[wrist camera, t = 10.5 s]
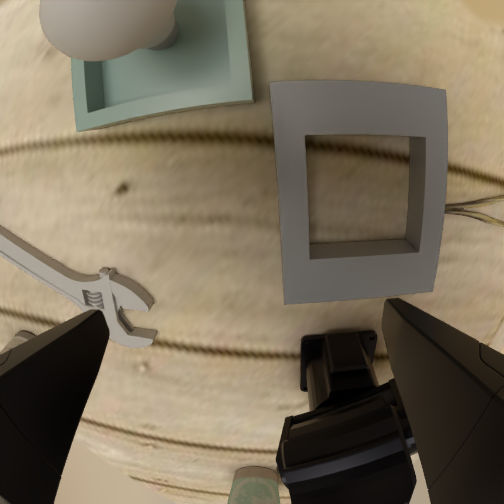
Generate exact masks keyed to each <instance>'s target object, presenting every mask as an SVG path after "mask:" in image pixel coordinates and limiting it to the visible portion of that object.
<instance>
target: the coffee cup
mask: <svg viewBox="0 0 504 504" xmlns="http://www.w3.org/2000/svg"><path fill="white" fill-rule="evenodd" d="M227 504H280V498H279V490H278V483H277V475H276V473H275V472H274V471H273V470H271V469H268V468H264V467H244V468H241V469H239V470H237V471H236V472H235V476H234V480H233V483H232V487H231V491H230V495H229V499H228V503H227Z"/></svg>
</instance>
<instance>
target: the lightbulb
mask: <svg viewBox="0 0 504 504" xmlns="http://www.w3.org/2000/svg"><path fill="white" fill-rule="evenodd" d="M176 3H177V0H40V9H39V17H40V23H41V27H42V30H43V32H44V34H45V37H46V38H47V39H48V40H49V42H50V43H51V44H52V45H53V46H54V47H55V48H56V49H57V50H59V51H60V52H62V53H64V54H65V55H67V56H69V57H71V58H75V59H78V60H83V61H103V60H110V59H116V58H119V57H122V56H125V55H127V54H129V53H131V52H133V51H135V50H137V49H139V48H140V49H145V48H147V49H150V50H156V51H157V50H163V49H166V48H168V47H169V46H171V45H172V44H173V43H174V42H175V41H176V39H177V37H178V35H179V25H178V23H177V21H176V20H175V17H174V13H173V11H174V8H175V6H176Z"/></svg>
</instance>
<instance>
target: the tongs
mask: <svg viewBox="0 0 504 504" xmlns="http://www.w3.org/2000/svg"><path fill="white" fill-rule="evenodd" d="M502 200H504V195H503V196H499V197H496V198H492V199H487V200H479V201H475V202H469V203H462V204H450V205H445V212H444V214H456V215H463V216H468V217H472V218H475V219H478V220H480V221H483V222H485V223H489V224H494V225H497V226H502V227H504V222H502V221H500V220H497V219H494V218H491V217H487V216H485V215H482V214H479V213H473V212H468V211H463V209H464V208H472V207H482V206H486V205H490V204H493V203H495V202H499V201H502ZM461 210H462V211H461Z"/></svg>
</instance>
